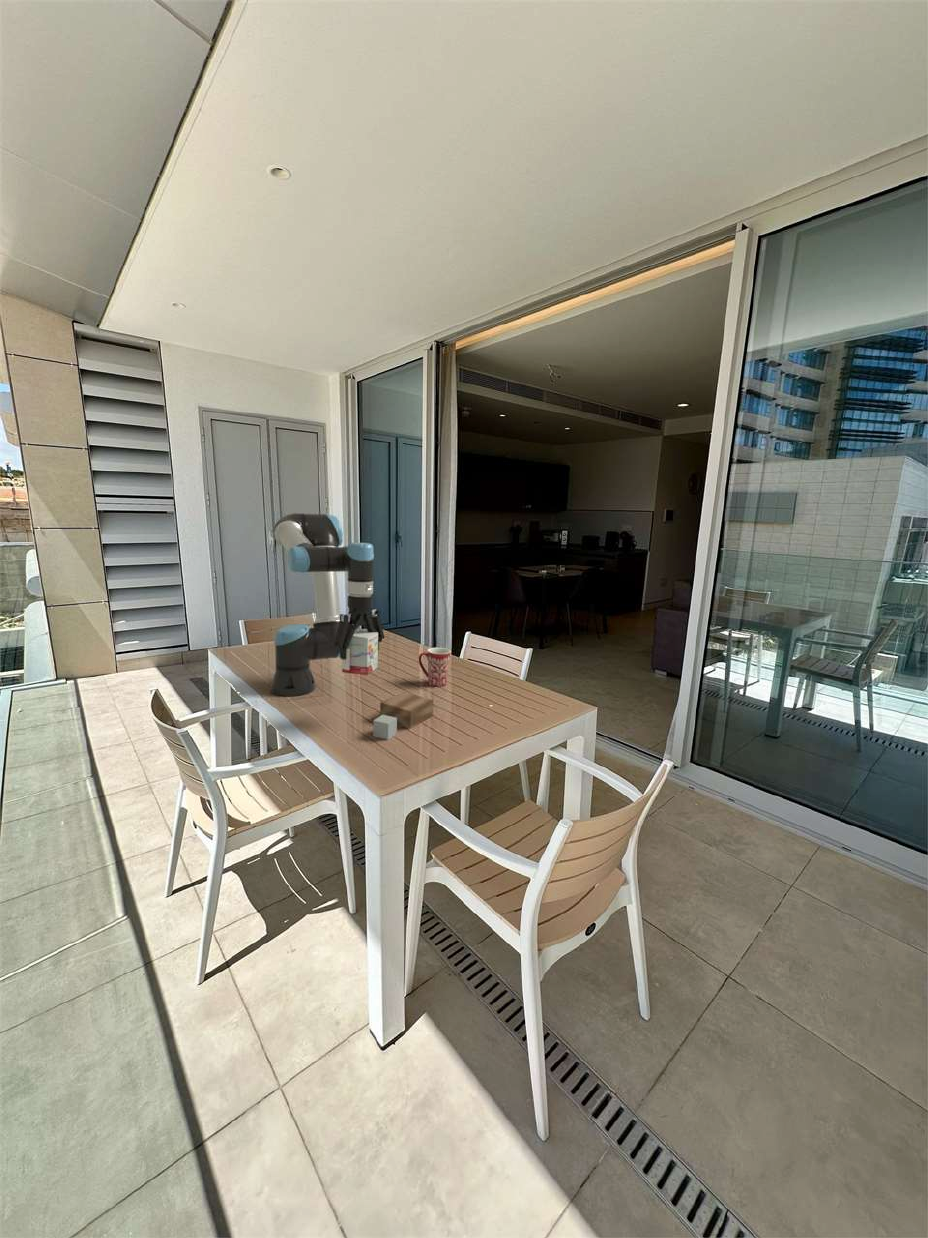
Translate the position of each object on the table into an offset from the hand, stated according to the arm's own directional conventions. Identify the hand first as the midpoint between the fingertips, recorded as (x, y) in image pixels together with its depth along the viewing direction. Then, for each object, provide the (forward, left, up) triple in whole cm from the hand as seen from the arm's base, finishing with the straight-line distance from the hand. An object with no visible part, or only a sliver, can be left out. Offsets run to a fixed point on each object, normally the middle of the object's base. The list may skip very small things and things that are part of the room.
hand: (360, 665), depth 154 cm
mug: (-6, +43, -18) cm, 47 cm away
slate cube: (+14, -3, -18) cm, 23 cm away
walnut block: (+10, +11, -18) cm, 23 cm away
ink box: (0, 0, -2) cm, 2 cm away
